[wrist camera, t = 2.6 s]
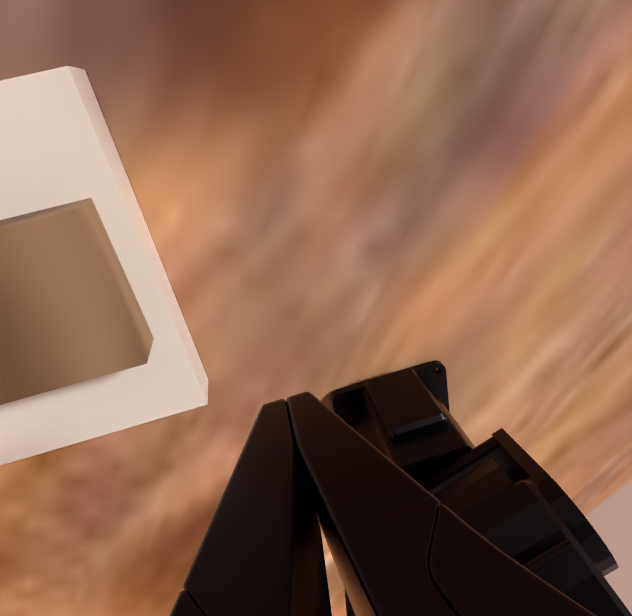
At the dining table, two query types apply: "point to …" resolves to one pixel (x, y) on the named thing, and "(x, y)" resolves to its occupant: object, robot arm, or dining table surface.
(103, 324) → the walnut tile
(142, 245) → the deck
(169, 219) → the dining table surface
